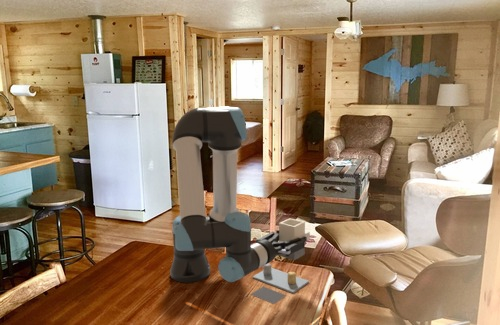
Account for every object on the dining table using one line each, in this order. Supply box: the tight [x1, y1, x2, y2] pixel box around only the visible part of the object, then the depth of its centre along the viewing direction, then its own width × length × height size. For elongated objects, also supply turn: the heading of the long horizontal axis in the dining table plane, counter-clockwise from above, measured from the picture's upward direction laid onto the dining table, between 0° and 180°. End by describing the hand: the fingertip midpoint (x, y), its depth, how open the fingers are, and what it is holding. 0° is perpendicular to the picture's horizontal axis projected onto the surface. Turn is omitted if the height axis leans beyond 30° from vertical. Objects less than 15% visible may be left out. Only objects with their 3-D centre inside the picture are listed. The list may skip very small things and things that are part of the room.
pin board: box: [252, 262, 310, 294], centre depth 151 cm, size 18×10×5 cm, turn 50°
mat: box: [250, 286, 287, 305], centre depth 141 cm, size 10×7×1 cm
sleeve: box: [278, 218, 306, 261], centre depth 145 cm, size 6×6×12 cm
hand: (300, 233), depth 148 cm, fingers closed on sleeve, 6 cm apart
